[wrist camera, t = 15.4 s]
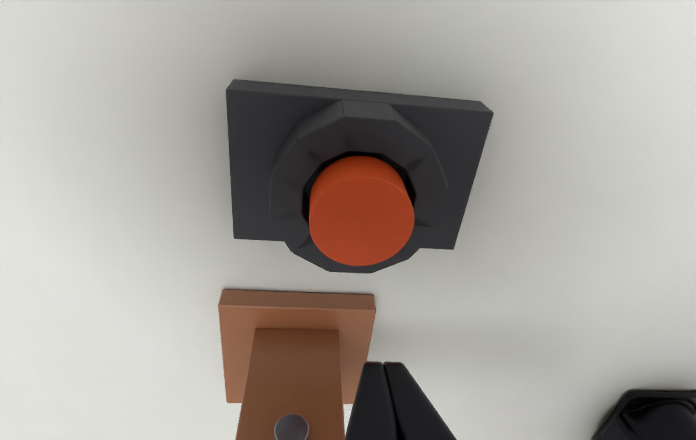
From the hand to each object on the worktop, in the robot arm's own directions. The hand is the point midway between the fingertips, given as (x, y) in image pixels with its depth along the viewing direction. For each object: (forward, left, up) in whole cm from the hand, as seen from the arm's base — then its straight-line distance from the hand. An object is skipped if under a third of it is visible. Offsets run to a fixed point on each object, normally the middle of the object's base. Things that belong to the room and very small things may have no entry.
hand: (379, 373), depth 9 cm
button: (0, 0, -8) cm, 8 cm away
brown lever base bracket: (+2, +12, -11) cm, 16 cm away
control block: (0, 0, -11) cm, 11 cm away
